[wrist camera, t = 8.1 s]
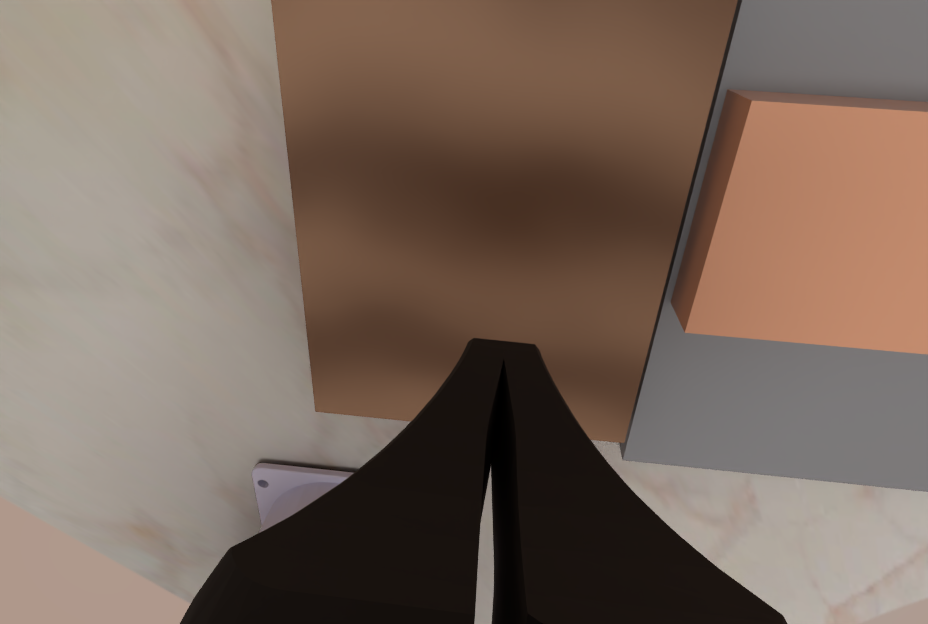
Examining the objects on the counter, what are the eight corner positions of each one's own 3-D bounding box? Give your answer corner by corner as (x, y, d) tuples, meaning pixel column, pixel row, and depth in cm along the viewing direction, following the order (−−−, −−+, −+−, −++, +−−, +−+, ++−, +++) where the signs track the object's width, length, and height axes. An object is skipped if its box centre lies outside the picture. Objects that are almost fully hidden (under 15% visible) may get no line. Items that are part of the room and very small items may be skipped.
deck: (616, 409, 23) (624, 442, 21) (330, 381, 24) (315, 411, 22) (749, -150, 14) (781, -171, 12) (282, -170, 15) (250, -191, 13)
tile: (970, 328, 19) (1015, 362, 17) (670, 302, 19) (684, 332, 18) (1097, 112, 15) (1170, 127, 14) (727, 88, 16) (752, 100, 14)
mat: (961, 481, 23) (974, 496, 22) (620, 446, 24) (622, 460, 23) (1459, -240, 12) (1515, -254, 11) (797, -259, 13) (813, -273, 12)
